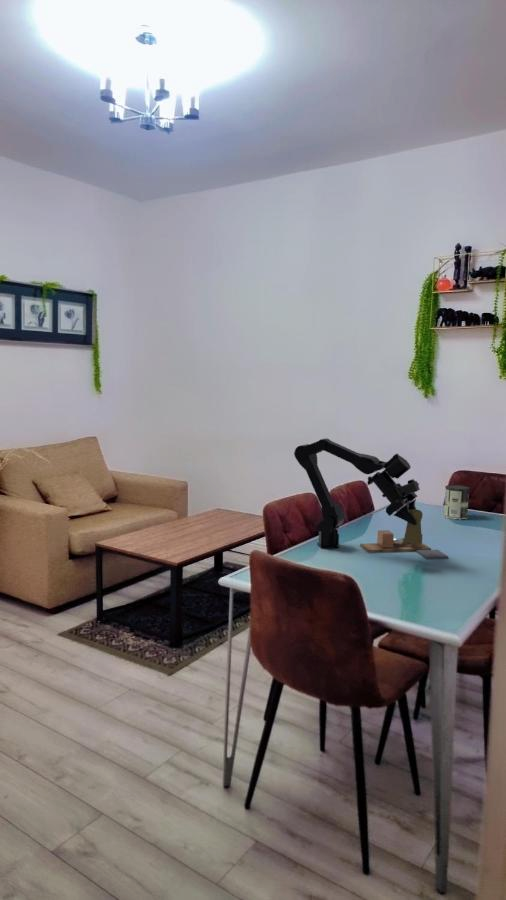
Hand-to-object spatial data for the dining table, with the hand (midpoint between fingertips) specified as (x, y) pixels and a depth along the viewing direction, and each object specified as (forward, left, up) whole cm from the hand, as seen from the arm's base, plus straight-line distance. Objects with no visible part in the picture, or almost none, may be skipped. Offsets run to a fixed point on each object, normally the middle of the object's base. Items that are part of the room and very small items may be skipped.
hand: (418, 523), depth 199 cm
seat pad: (+9, +6, -13) cm, 17 cm away
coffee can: (+47, +61, -14) cm, 79 cm away
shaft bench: (-1, +15, -13) cm, 21 cm away
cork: (-1, +1, -7) cm, 7 cm away
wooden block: (-2, +15, -12) cm, 20 cm away
